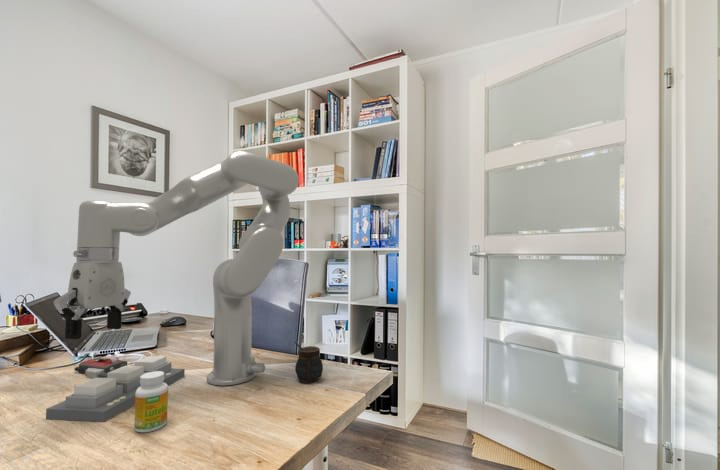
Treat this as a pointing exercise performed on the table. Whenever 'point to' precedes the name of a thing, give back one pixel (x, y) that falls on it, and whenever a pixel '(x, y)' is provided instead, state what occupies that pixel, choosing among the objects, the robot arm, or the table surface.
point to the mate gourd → (309, 364)
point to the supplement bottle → (151, 402)
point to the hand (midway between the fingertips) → (94, 333)
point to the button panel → (107, 399)
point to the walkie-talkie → (100, 366)
